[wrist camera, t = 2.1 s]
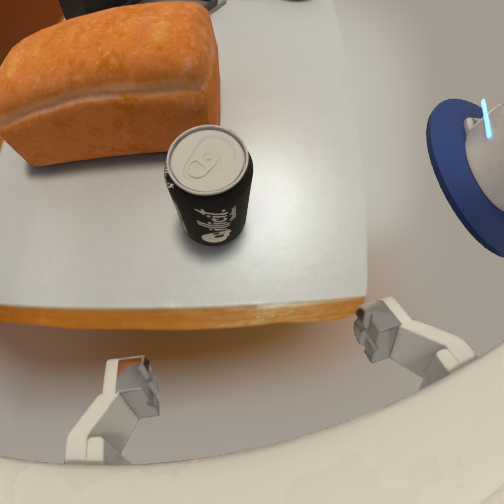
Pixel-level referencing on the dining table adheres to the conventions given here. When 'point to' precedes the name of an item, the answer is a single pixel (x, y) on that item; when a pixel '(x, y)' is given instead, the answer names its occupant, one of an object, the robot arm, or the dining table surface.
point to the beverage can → (210, 182)
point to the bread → (111, 83)
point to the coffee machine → (82, 3)
